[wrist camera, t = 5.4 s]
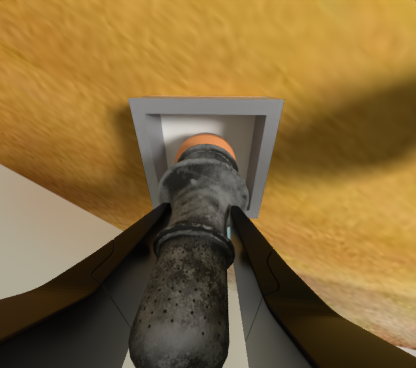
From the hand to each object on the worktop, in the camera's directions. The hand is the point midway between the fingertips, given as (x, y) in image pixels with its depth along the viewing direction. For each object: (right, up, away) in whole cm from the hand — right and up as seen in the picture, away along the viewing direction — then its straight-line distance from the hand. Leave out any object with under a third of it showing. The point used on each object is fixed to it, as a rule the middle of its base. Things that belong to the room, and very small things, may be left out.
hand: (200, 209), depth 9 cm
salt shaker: (0, +2, +4) cm, 5 cm away
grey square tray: (0, +5, +8) cm, 10 cm away
